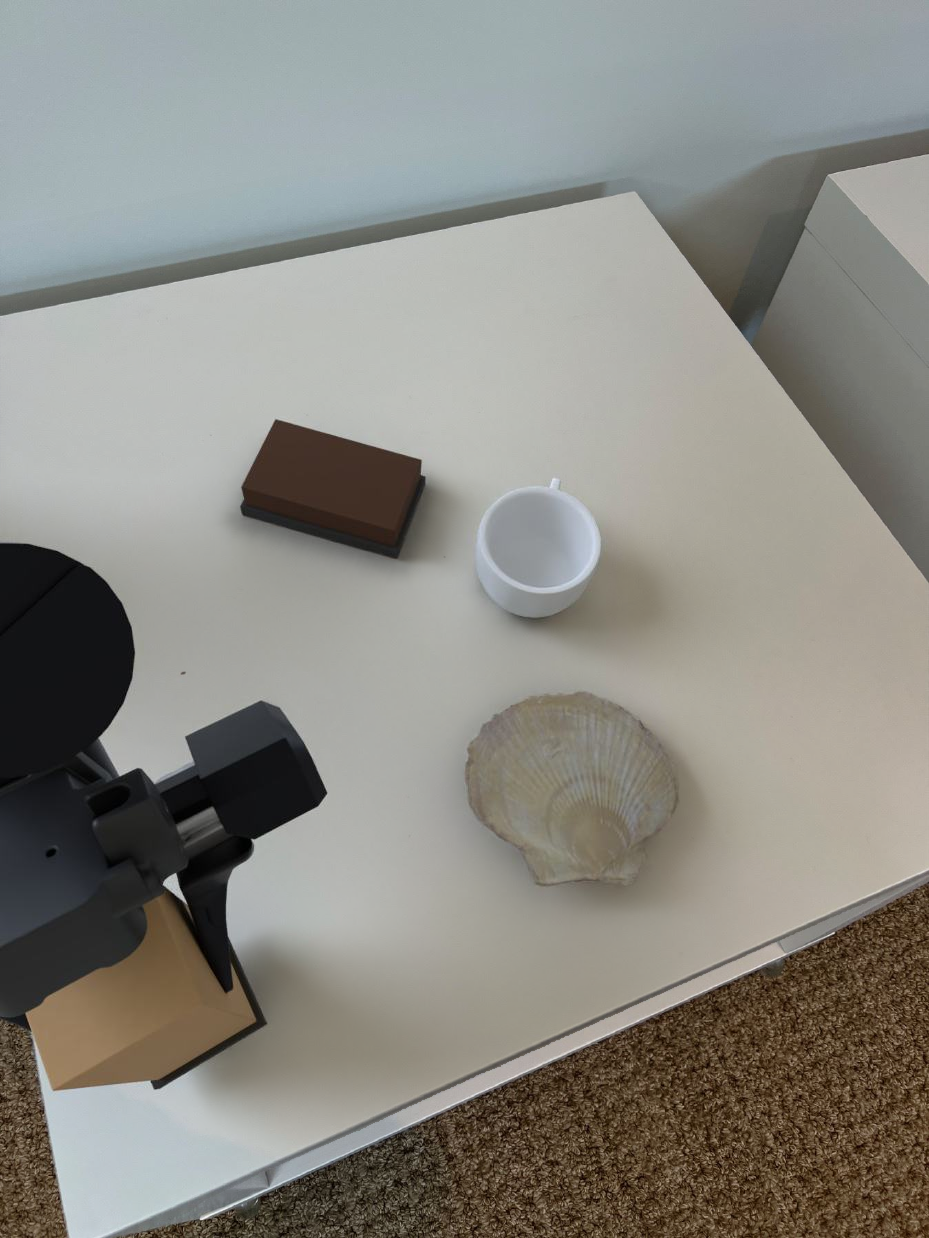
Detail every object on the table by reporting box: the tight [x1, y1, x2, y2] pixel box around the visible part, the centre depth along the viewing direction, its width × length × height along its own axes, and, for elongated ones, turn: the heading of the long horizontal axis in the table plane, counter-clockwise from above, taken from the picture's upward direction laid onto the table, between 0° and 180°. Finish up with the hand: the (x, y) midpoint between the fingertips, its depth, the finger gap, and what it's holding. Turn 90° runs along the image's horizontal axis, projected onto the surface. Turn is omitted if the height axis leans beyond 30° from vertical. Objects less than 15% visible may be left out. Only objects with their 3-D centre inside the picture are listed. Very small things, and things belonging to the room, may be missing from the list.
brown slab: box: [239, 418, 427, 560], centre depth 58 cm, size 11×6×3 cm, turn 74°
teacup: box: [475, 477, 602, 619], centre depth 56 cm, size 10×8×5 cm
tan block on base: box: [26, 884, 268, 1092], centre depth 36 cm, size 6×6×16 cm
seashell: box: [463, 691, 680, 887], centre depth 50 cm, size 12×12×3 cm
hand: (166, 1020), depth 35 cm, fingers closed on tan block on base, 5 cm apart
